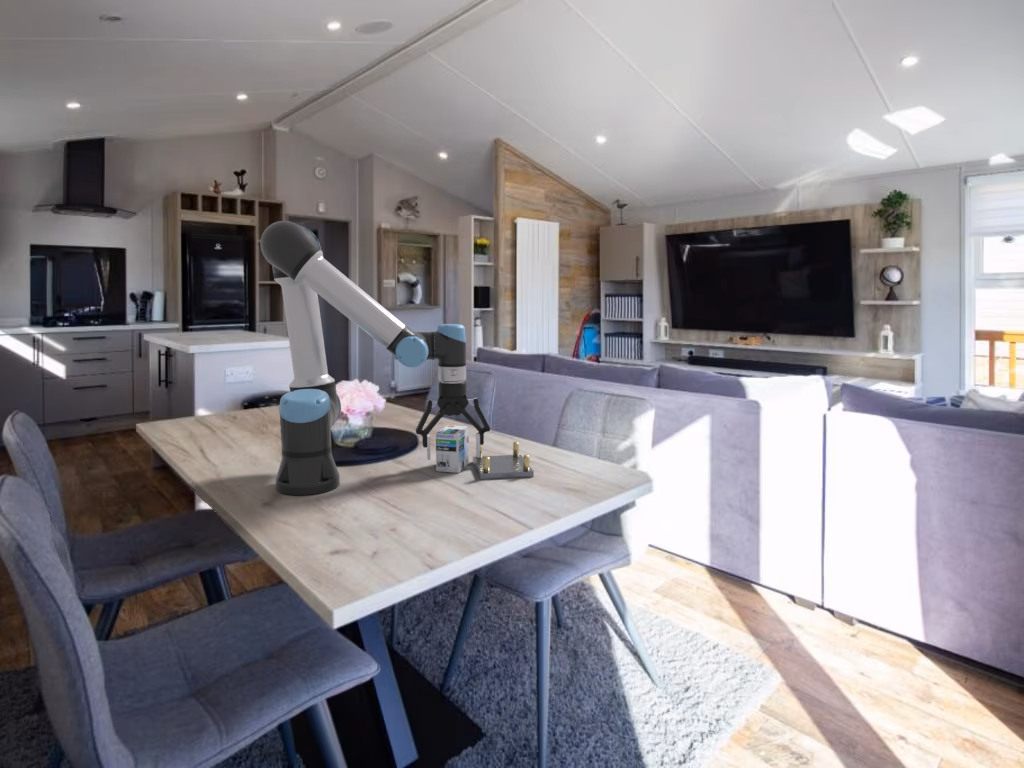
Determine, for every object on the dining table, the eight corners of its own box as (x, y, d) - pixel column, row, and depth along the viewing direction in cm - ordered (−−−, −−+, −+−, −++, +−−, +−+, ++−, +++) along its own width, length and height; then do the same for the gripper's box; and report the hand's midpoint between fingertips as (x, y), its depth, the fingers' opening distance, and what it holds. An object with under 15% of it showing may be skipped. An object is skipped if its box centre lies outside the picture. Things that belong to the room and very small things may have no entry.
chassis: (480, 479, 164) (480, 458, 163) (472, 461, 180) (472, 442, 179) (533, 476, 166) (533, 456, 166) (520, 459, 183) (520, 441, 182)
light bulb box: (459, 473, 169) (459, 434, 167) (435, 472, 170) (434, 432, 169) (469, 462, 179) (469, 425, 178) (447, 461, 181) (446, 424, 179)
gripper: (406, 384, 165) (408, 463, 169) (500, 382, 170) (500, 458, 173) (405, 380, 173) (407, 456, 176) (495, 378, 177) (496, 451, 180)
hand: (453, 457), depth 174 cm, fingers open, 13 cm apart
